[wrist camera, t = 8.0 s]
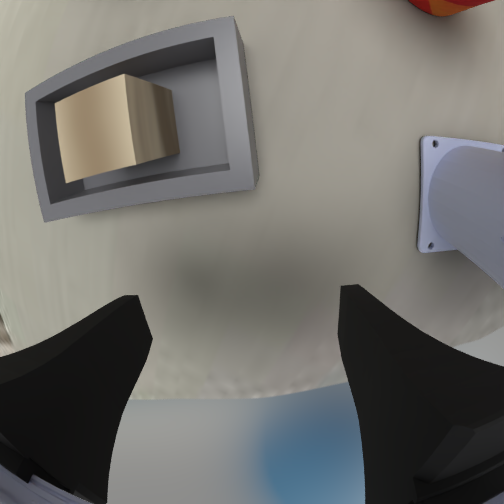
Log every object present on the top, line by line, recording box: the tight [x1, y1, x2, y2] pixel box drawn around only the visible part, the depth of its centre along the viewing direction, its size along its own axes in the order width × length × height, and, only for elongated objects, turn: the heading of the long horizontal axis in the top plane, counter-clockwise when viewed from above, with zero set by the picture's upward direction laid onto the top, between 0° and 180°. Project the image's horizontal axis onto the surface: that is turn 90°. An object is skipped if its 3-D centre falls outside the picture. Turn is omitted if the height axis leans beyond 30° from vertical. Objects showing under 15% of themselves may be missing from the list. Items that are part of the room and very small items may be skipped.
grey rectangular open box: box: [25, 16, 259, 223], centre depth 14 cm, size 13×8×4 cm, turn 96°
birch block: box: [55, 74, 180, 183], centre depth 13 cm, size 4×4×6 cm
